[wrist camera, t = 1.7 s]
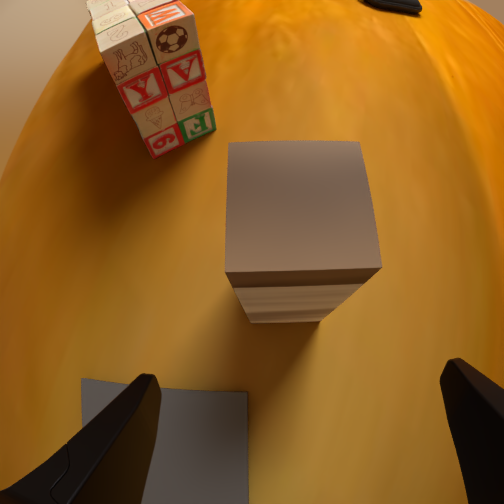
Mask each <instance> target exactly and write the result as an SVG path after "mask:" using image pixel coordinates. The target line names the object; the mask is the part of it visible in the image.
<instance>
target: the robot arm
mask: <svg viewBox="0 0 504 504" xmlns="http://www.w3.org/2000/svg"><path fill="white" fill-rule="evenodd" d="M440 386H441V391H442V395H443V400H444V405H445V410H446V415H447V420H448V424H449V427H450V431H451V434H452V438H453V441H454V445H455V448H456V452H457V456H458V460H459V464H460V468H461V472H462V476H463V480H464V485H465V489H466V494H467V499H468V504H504V389H503V388H501V387H500V386H498V385H497V384H496V383H494V382H493V381H492V380H490V379H489V378H488V377H486V376H485V375H483V374H482V373H481V372H479V371H478V370H476V369H475V368H474V367H472V366H471V365H470V364H468V363H467V362H465V361H464V360H463V359H461V358H454V359H450V360H448V361H447V363H446V365H445V368H444V370H443V372H442V374H441V376H440ZM161 400H162V393H161V389H160V387H159V384H158V381H157V378H156V376H155V375H153V374H145V373H143V374H140V375H139V376H138V377H137V378H136V379H135V380H134V381H133V382H132V383H130V384H129V385H128V386H127V387H126V388H125V389H124V390H123V391H122V392H121V393H120V394H119V395H118V396H117V397H116V398H114V399H113V400H112V401H111V402H110V403H109V404H108V405H107V406H106V407H105V408H104V409H103V410H102V411H100V412H99V413H98V414H97V415H96V416H95V417H94V418H93V419H92V420H91V421H90V422H89V423H88V424H86V425H85V426H84V427H83V428H82V429H81V430H80V431H79V432H78V433H77V434H76V435H75V436H73V437H72V438H71V439H70V440H69V441H68V442H67V444H65V445H64V446H62V447H61V448H60V449H59V450H58V451H57V452H56V453H55V454H53V455H52V456H51V457H50V458H49V459H48V460H46V461H45V462H44V463H42V464H41V465H40V466H39V467H37V468H36V469H34V470H33V471H32V472H30V473H29V474H27V475H26V476H25V477H23V478H22V479H20V480H19V481H17V482H16V483H15V484H13V485H12V486H10V487H8V488H6V489H4V490H1V491H0V504H141V502H142V498H143V493H144V489H145V485H146V480H147V476H148V472H149V468H150V464H151V460H152V456H153V452H154V448H155V443H156V438H157V431H158V423H159V415H160V407H161Z"/></svg>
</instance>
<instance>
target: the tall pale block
mask: <svg viewBox="0 0 504 504" xmlns="http://www.w3.org/2000/svg"><path fill="white" fill-rule="evenodd" d="M381 268H382V263H381V255H380V248H379V241H378V234H377V228H376V222H375V216H374V210H373V204H372V199H371V194H370V189H369V184H368V179H367V174H366V169H365V164H364V160H363V155H362V151H361V147H360V143H359V142H350V141H256V142H234V143H229V147H228V173H227V203H226V241H225V273H226V275H227V277H228V279H229V281H230V283H231V285H232V287H233V289H234V291H235V293H236V295H237V297H238V299H239V301H240V303H241V305H242V307H243V309H244V311H245V313H246V315H247V317H248V319H249V321H250V323H289V322H314V321H321V320H322V319H324V318H325V317H326V316H327V315H328V314H330V313H331V312H332V311H333V310H334V309H336V308H337V307H338V306H339V305H340V304H342V303H343V302H344V301H345V300H346V299H347V298H348V297H350V296H351V295H352V294H353V293H354V292H355V291H356V290H358V289H359V288H360V287H361V286H362V285H363V284H364V283H365V282H367V281H368V280H369V279H370V278H371V277H372V276H373V275H374V274H375V273H377V272H378V271H379V270H380V269H381Z"/></svg>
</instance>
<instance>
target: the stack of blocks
mask: <svg viewBox="0 0 504 504" xmlns="http://www.w3.org/2000/svg"><path fill="white" fill-rule="evenodd" d="M86 5H87V8H88V11H89V13H90V16H91V18H92V20H93V21H92V26H93V29H94V32H95V35H96V41H97V45H98V48H99V51H100V54H101V56H102V58H103V60H104V62H105V64H106V66H107V68H108V71H109V73H110V75H111V77H112V79H113V80H114V82H115V84H116V87H117V89H118V91H119V93H120V95H121V97H122V99H123V101H124V103H125V105H126V107H127V109H128V111H129V113H130V114H131V116H132V118H133V119H134V121H135V123H136V125H137V127H138V129H139V132H140V134H141V137H142V139H143V141H144V143H145V145H146V146H147V148H148V150H149V152H150V154H151V156H152V158H153V159H155V158H157V157H159V156H161V155H163V154H165V153H167V152H169V151H171V150H173V149H175V148H177V147H179V146H182V145H184V144H185V143H187V142H189V141H191V140H194V139H196V138H198V137H200V136H202V135H205V134H207V133H209V132H211V131H214V130H216V123H215V117H214V112H213V107H212V105H211V102H210V97H209V92H208V87H207V83H206V72H205V68H204V63H203V58H202V53H201V50H200V46H199V40H198V34H197V28H196V23H195V17H194V14H193V13H192V12H191V11H190V10H189V9H188V8H187V7H185V6H184V5H183V4H182V3H181V2H180V1H179V0H89V1H87V2H86Z"/></svg>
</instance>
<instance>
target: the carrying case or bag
mask: <svg viewBox="0 0 504 504" xmlns="http://www.w3.org/2000/svg"><path fill="white" fill-rule="evenodd" d="M367 1H368V2H369V3H370V4H371V5H372V6H374V7H377V8H382V9H388V10H394V11H400V12H405V13H410V14H417V13H419V12H421V11H422V6H421V4H420V2H419V1H418V0H367Z"/></svg>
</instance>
